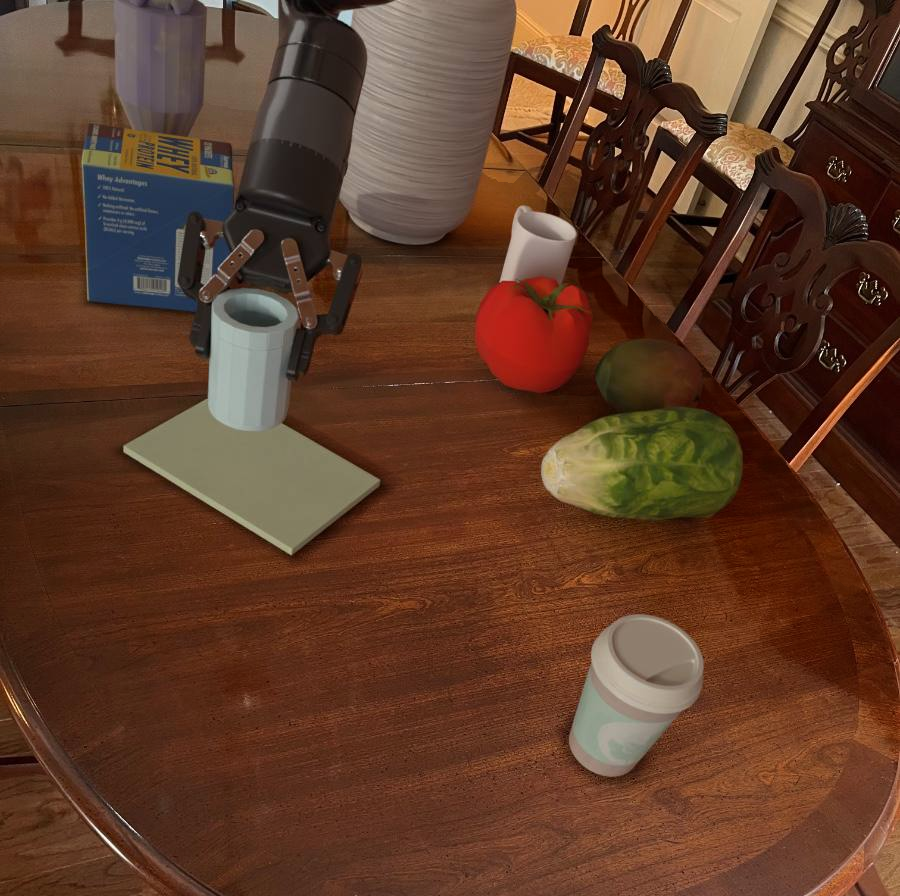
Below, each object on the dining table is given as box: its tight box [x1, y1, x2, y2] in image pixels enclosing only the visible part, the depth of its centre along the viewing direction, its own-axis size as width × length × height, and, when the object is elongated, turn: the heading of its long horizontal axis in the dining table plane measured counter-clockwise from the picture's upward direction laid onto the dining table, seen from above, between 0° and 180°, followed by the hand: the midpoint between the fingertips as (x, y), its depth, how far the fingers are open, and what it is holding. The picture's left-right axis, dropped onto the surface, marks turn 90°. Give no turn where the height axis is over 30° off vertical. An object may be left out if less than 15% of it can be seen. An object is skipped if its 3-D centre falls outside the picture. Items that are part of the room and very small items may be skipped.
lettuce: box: [540, 407, 744, 522], centre depth 100 cm, size 12×21×11 cm, turn 109°
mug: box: [499, 205, 578, 286], centre depth 129 cm, size 12×8×10 cm, turn 19°
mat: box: [123, 397, 381, 556], centre depth 95 cm, size 20×14×1 cm
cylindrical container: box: [207, 287, 300, 431], centre depth 78 cm, size 6×6×9 cm
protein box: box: [80, 122, 236, 313], centre depth 109 cm, size 10×15×16 cm
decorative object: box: [113, 0, 208, 137], centre depth 119 cm, size 10×10×30 cm
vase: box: [338, 0, 518, 246], centre depth 128 cm, size 20×20×34 cm
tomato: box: [474, 276, 593, 394], centre depth 114 cm, size 13×14×12 cm
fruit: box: [594, 338, 703, 414], centre depth 113 cm, size 12×13×10 cm
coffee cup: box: [568, 613, 705, 778], centre depth 76 cm, size 8×8×12 cm
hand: (246, 367), depth 76 cm, fingers closed on cylindrical container, 6 cm apart
